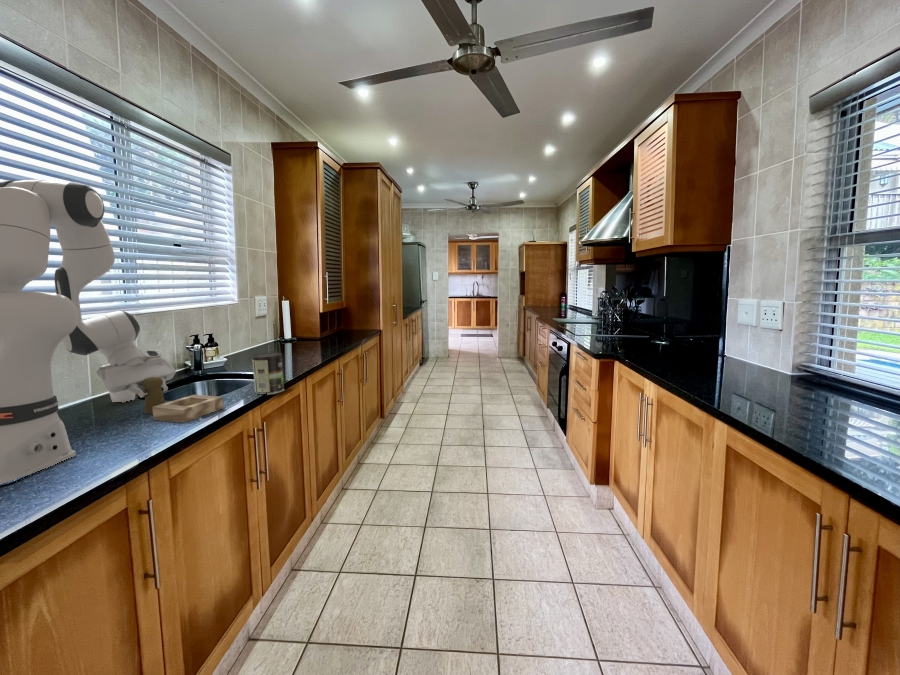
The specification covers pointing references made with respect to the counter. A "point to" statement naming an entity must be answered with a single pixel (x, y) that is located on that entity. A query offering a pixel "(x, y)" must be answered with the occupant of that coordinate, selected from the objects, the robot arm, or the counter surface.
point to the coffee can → (268, 373)
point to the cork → (153, 393)
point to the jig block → (187, 408)
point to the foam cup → (121, 395)
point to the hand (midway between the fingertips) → (155, 393)
